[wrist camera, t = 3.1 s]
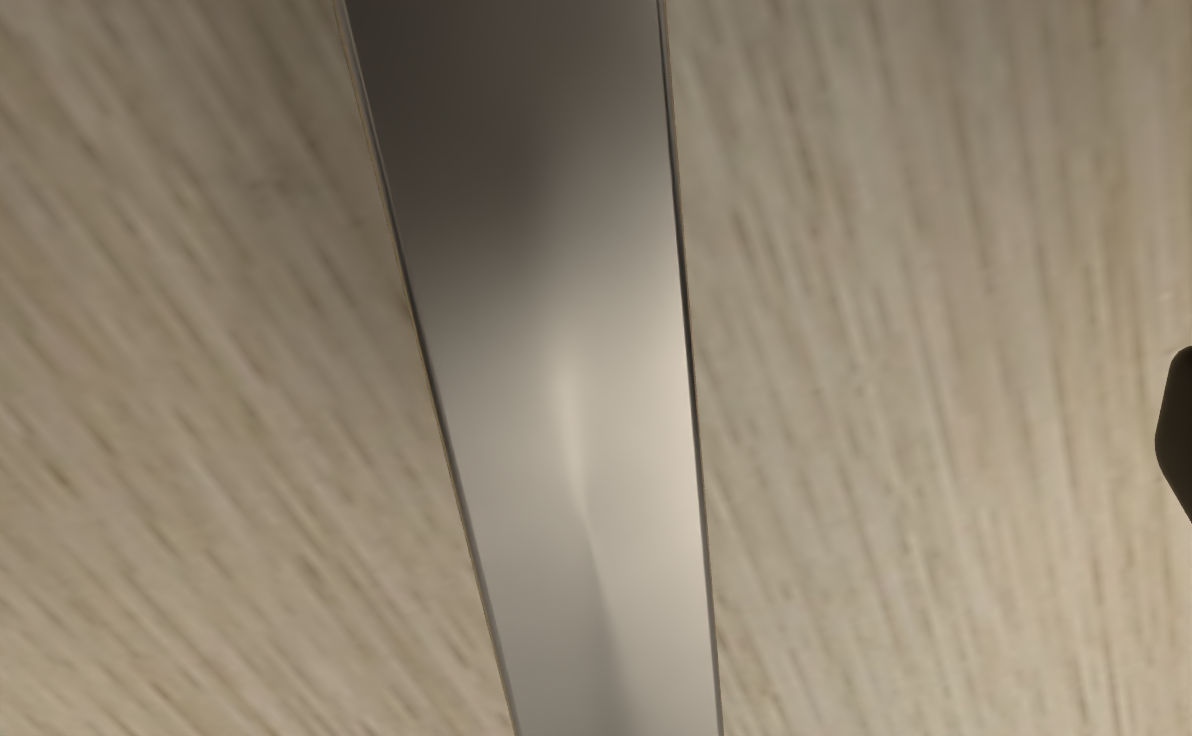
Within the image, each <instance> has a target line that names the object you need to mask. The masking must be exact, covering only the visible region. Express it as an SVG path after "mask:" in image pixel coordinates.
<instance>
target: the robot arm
mask: <svg viewBox="0 0 1192 736" xmlns="http://www.w3.org/2000/svg"><path fill="white" fill-rule="evenodd" d="M1155 451H1156V456H1157V460H1158V463H1159V466H1160V468H1161V470H1162V472H1163V475H1164V476H1165V478H1166V480H1167V481H1168V483H1169V485H1170V487H1171V488H1172V490H1173V492H1174V494H1175V495H1176V497H1177V499H1178V500H1179V502H1180V504H1181V506H1182V507H1183V509H1184V511H1185V513H1186V514H1187V516H1188V518H1189V519H1190V521H1191V523H1192V346H1189V347H1186V348H1184V349H1182V350H1181V351H1179V352H1178V353H1177V354H1176V356H1175V357H1174V358H1173V360H1172V361H1171V365H1170V368H1169V372H1168V377H1167V382H1166V386H1165V391H1164V396H1163V400H1162V405H1161V410H1160V415H1159V419H1158V424H1157V429H1156V433H1155Z"/></svg>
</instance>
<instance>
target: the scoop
mask: <svg viewBox="0 0 1192 736" xmlns="http://www.w3.org/2000/svg"><path fill="white" fill-rule="evenodd" d="M331 1H332V5H333V9H334V13H335V17H336V21H337V25H338V29H339V33H340V37H341V41H342V45H343V49H344V53H345V57H346V61H347V65H348V69H349V73H350V77H351V81H352V85H353V89H354V93H355V97H356V101H357V105H358V109H359V113H360V117H361V121H362V125H363V129H364V133H365V137H366V141H367V145H368V149H369V153H370V157H371V161H372V165H373V169H374V173H375V177H376V181H377V185H378V189H379V193H380V197H381V201H382V205H383V209H384V213H385V217H386V221H387V225H388V229H389V233H390V237H391V241H392V245H393V249H394V253H395V257H396V261H397V265H398V269H399V273H400V277H401V281H402V285H403V289H404V293H405V297H406V301H407V305H408V309H409V313H410V317H411V321H412V325H413V329H414V333H415V337H416V341H417V345H418V349H419V353H420V357H421V362H422V366H423V370H424V374H425V378H426V382H427V386H428V390H429V394H430V398H431V402H432V406H433V410H434V414H435V418H436V422H437V426H438V430H439V434H440V438H441V442H442V446H443V450H444V454H445V458H446V462H447V466H448V470H449V474H450V478H451V482H452V486H453V490H454V494H455V498H456V502H457V506H458V510H459V514H460V518H461V522H462V526H463V530H464V534H465V538H466V542H467V546H468V550H469V554H470V558H471V562H472V566H473V570H474V574H475V578H476V582H477V586H478V590H479V594H480V598H481V602H482V606H483V610H484V614H485V618H486V622H487V626H488V630H489V634H490V638H491V642H492V646H493V650H494V654H495V658H496V662H497V666H498V670H499V674H500V678H501V682H502V686H503V690H504V694H505V698H506V702H507V706H508V710H509V714H510V718H511V722H512V726H513V730H514V734H515V736H724V727H723V715H722V702H721V690H720V677H719V665H718V652H717V640H716V627H715V615H714V602H713V589H712V577H711V564H710V552H709V539H708V527H707V514H706V502H705V489H704V477H703V464H702V452H701V439H700V427H699V414H698V401H697V389H696V376H695V364H694V351H693V339H692V326H691V314H690V301H689V289H688V276H687V264H686V251H685V239H684V226H683V213H682V201H681V188H680V176H679V163H678V151H677V138H676V126H675V113H674V101H673V88H672V76H671V63H670V51H669V38H668V25H667V13H666V0H331Z"/></svg>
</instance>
